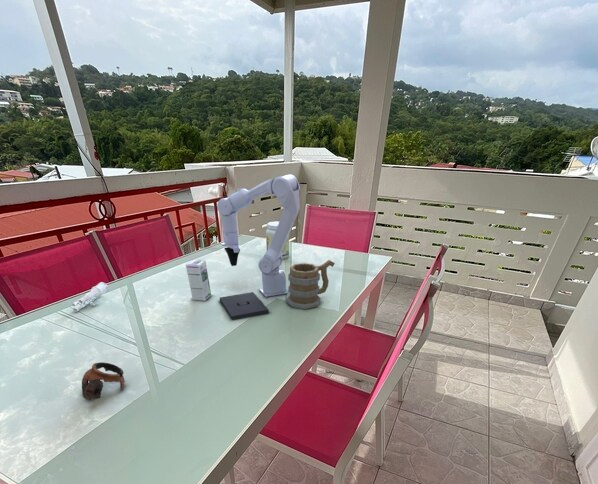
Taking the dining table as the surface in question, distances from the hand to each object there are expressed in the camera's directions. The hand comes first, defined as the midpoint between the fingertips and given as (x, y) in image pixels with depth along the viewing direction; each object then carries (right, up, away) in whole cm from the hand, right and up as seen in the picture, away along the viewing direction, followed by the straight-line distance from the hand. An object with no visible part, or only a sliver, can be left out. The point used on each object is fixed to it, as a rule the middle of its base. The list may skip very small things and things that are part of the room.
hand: (233, 265), depth 139 cm
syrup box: (-12, -15, -4) cm, 20 cm away
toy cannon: (-53, -19, -11) cm, 57 cm away
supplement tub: (+16, +17, +41) cm, 48 cm away
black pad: (+4, -18, -8) cm, 20 cm away
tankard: (+33, -16, -5) cm, 37 cm away
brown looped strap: (-23, -49, -53) cm, 76 cm away
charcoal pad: (+8, -22, -14) cm, 27 cm away
